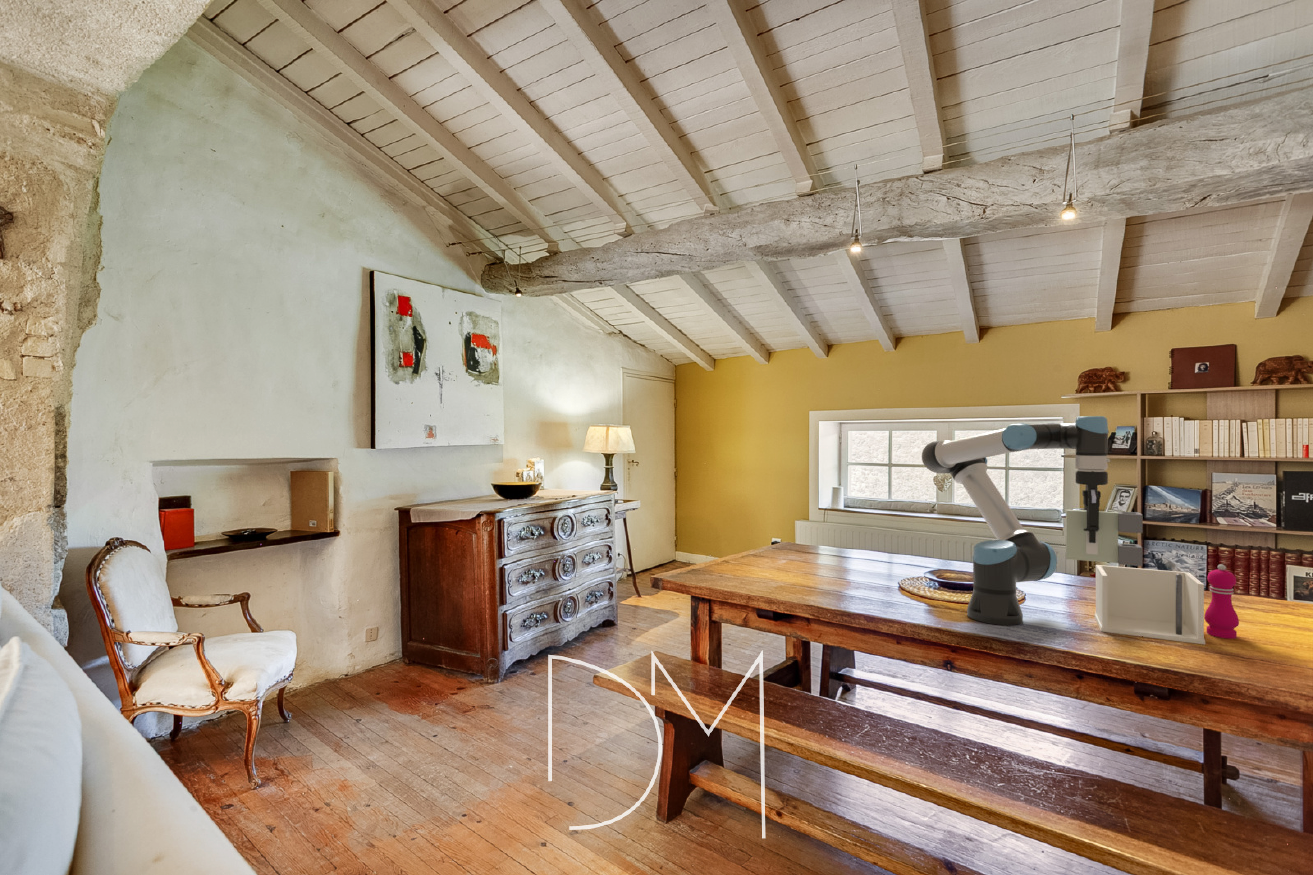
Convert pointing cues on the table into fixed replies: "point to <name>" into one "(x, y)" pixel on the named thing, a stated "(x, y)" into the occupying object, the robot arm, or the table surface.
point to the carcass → (1148, 603)
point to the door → (1104, 537)
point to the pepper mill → (1221, 604)
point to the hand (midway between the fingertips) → (1091, 552)
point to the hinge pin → (1179, 604)
